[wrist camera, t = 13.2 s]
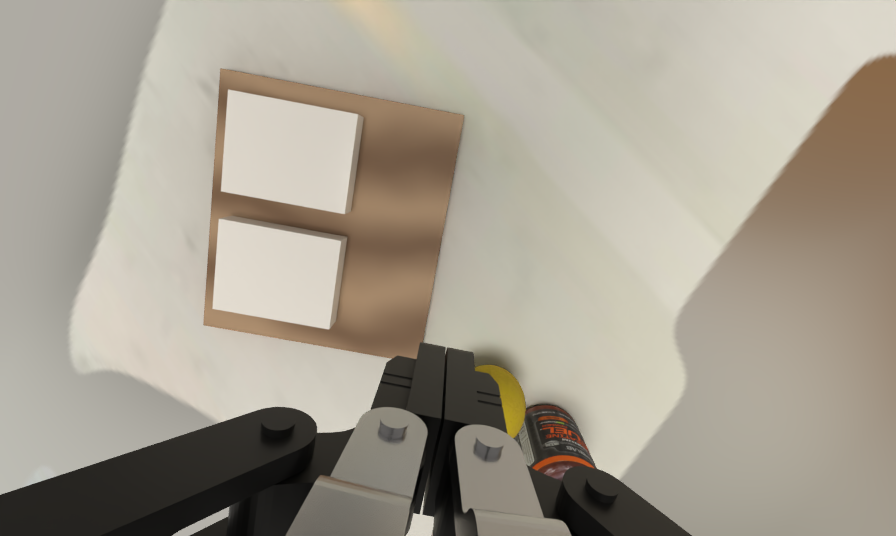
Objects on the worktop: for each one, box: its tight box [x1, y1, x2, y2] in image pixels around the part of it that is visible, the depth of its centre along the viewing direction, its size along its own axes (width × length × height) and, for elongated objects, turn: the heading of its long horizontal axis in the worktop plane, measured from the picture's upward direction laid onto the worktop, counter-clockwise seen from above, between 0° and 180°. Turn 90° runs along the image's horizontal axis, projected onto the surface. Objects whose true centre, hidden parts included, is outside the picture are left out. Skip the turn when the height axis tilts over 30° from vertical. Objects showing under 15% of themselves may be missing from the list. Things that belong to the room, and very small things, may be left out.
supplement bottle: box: [513, 405, 597, 481], centre depth 34 cm, size 6×6×11 cm
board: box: [204, 69, 464, 359], centre depth 35 cm, size 20×18×1 cm
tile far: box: [212, 216, 347, 329], centre depth 34 cm, size 7×2×9 cm
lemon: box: [475, 365, 526, 438], centre depth 35 cm, size 6×6×8 cm
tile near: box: [221, 89, 364, 214], centre depth 33 cm, size 7×2×9 cm
